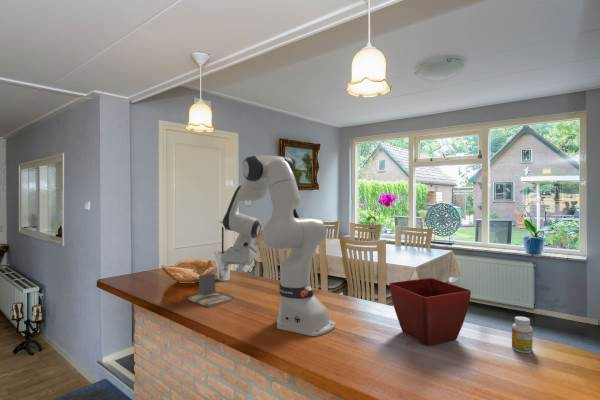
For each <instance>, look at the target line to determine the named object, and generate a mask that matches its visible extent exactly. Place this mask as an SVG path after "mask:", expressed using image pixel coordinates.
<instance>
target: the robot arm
mask: <svg viewBox="0 0 600 400" xmlns="http://www.w3.org/2000/svg"><path fill="white" fill-rule="evenodd" d="M294 169H295V166H294V162H293V160H292V159H291V157H288V156H284V155H269V154H267V155H265V154H264V155H252V156H248V157H246V158H245V159H244V160H243V163H242V173H243V174H242V175H243V176H244V182H243V184H241V185H238V186H237V188H235V190H234V193H233V195H232V197H231V199H230V202H229V205H228V208H227V210H226V213H225V214H224V216H223V219H222V225H223V227H224V229H225V230H228V231H230V232H234V233H238V236H237V237H236V240H235V241H234V243H233V246H229V248H227V249H226V250H224V251H225V253H224V254H223V256H222V258H221V261H222V262H223V263H224V268H223V271H224V272H227V270H228V266H229V264H231V265H236V266H237V265H239V266H238V267H236V269H235V272H236V273H241V270H243V268H244V267H245V266H251V265H252V264H253V262H254V260H255V258H256V254H257V253H258V249H257V248H256V247H255V246H254V242H255V240H256V239H257V237H258V236H259V234H260V231H261V228H262V225H261V221H260V220H259V219H258V218H257V217H254V216H250V215H247V214H244V213H242V212H239V211H238V208H239V207H240V204H241V202H243V201H244V202H245V201H251V202H252V201H259V200H261V199H262V198H264V197H265V196H266V195H267V193H268V191H269V195H270V200H271V204H272V205H271V206H272V212H271V216H270V217H269V220H268V221H267V222H266V224H265V225H264V226H263V229H262V239H263V241H264V243H265V245H266V246H267V247H268V248H271V249H277V250H286V249H291V250H290V253H289V254H288V255H287V256H286V257H285V258H284V259H283V260H282V261H281V264H280V284H279V286H278V290H279V291H278V292H279V295H280V296H279V297H280V300H279V306H278V314H277V318H276V329H278V330H282V331H288V332H292V333H296V334H301V335H303V336H309V337H318V336H321V335H324V334H327V333H329V332H331V331H333V329H334V328H336V322H335V321H333V320H331V319H330V315H329V311H328V308H327V307H326V306H325V305H324V304H323V303H322V302H321V301H320V299H318V298H317V297H316V296H315V293H314V292H315V291H317V290H316V287H312V284H311V264H312V259H313V256H314V254H315V251H316V249H317V247H318V246H319V245H320V244H321V243H322V242H323V240H324V239H325V236H326V227H325V224H324V222H323V221H322V220H321V219H319V218H315V217H310V216H307V217H295V216H294V210H296V209H297V207H299V205H300V203H301V201H302V200H301V198H302V197H301V195H300V192H299V186H298V183H297V181H296V178H295V175H294Z"/></svg>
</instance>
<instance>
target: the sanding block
mask: <svg viewBox="0 0 600 400" xmlns="http://www.w3.org/2000/svg"><path fill="white" fill-rule="evenodd" d="M215 293H216V274H214V273H206V274H200V275H198V295H200V296H203V297H205V296H209V295H213V294H215Z"/></svg>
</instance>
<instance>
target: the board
mask: <svg viewBox="0 0 600 400" xmlns="http://www.w3.org/2000/svg"><path fill="white" fill-rule="evenodd" d="M232 299H233V298H232V297H230V296H227V295H223V294H221V293H217V292H215V294H213V295H209V296H205V297H203V296H200V295H199V294H195V295H191V296H189V297H187V300H188V301H191V302H193V303H195V304H199V305H202V306H205V307H206V308H207V307H208V308H211V307H214V306H218V305H221V304H225V303H228V302H231V301H232Z"/></svg>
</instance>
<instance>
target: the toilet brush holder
mask: <svg viewBox="0 0 600 400" xmlns="http://www.w3.org/2000/svg"><path fill="white" fill-rule="evenodd" d="M224 229H225V227H224V226H223V227H221V250H217V251H214V255H215V264H216V274H217V280H218V281H222V282H224V281H225V282H226V281H229V280H230V279H231V266H232V264H229V266H228V270H227V272H224V271H223V268H224V263H223V262H222V261H221V258H222V256H223V254H224V253H225V251H226V250H224V239H225V238H224V237H225V236H224V232H225V231H224Z"/></svg>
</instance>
